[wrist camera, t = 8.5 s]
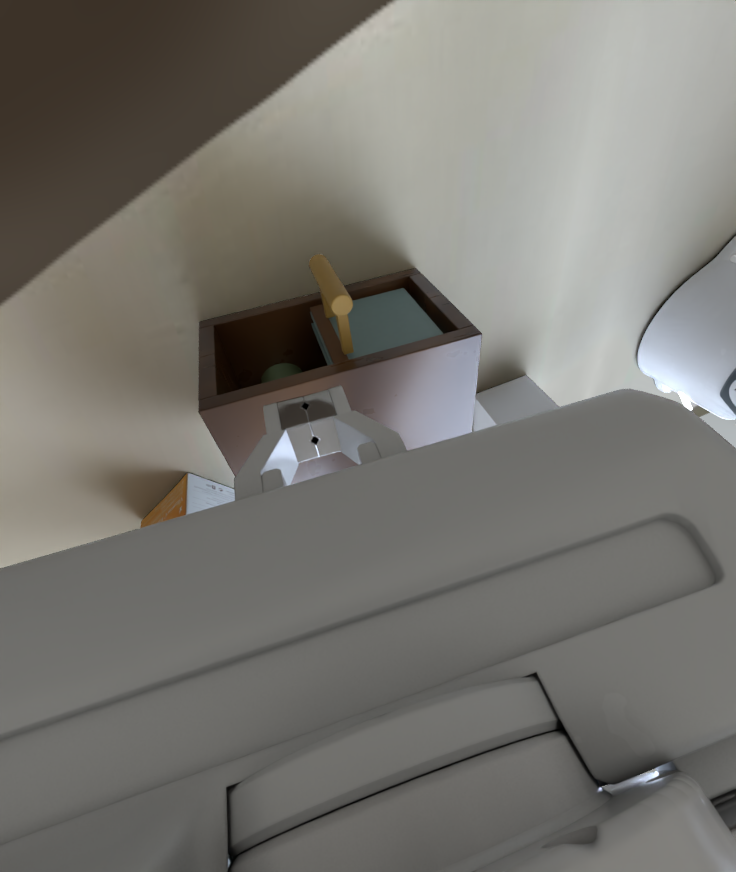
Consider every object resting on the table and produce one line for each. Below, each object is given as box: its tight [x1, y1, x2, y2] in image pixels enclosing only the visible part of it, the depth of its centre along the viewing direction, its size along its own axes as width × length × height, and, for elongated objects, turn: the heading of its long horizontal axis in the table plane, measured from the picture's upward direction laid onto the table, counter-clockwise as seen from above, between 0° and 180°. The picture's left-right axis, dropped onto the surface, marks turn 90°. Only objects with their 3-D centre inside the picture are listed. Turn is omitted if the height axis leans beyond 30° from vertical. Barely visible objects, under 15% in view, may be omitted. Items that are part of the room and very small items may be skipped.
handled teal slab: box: [309, 254, 443, 364], centre depth 24 cm, size 7×4×7 cm, turn 96°
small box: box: [141, 473, 235, 528], centre depth 35 cm, size 8×6×13 cm
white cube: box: [473, 375, 559, 432], centre depth 40 cm, size 6×6×6 cm
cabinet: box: [199, 268, 482, 485], centre depth 28 cm, size 16×10×10 cm, turn 96°
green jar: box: [260, 363, 303, 384], centre depth 30 cm, size 4×4×5 cm
